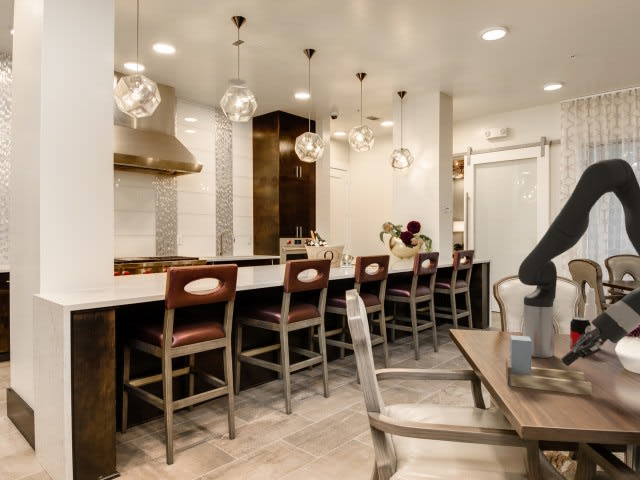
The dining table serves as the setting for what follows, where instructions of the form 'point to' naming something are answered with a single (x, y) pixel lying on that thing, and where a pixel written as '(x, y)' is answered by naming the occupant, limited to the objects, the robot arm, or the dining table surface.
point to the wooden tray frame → (549, 380)
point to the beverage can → (578, 328)
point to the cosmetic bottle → (590, 307)
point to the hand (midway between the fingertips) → (564, 362)
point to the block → (520, 354)
